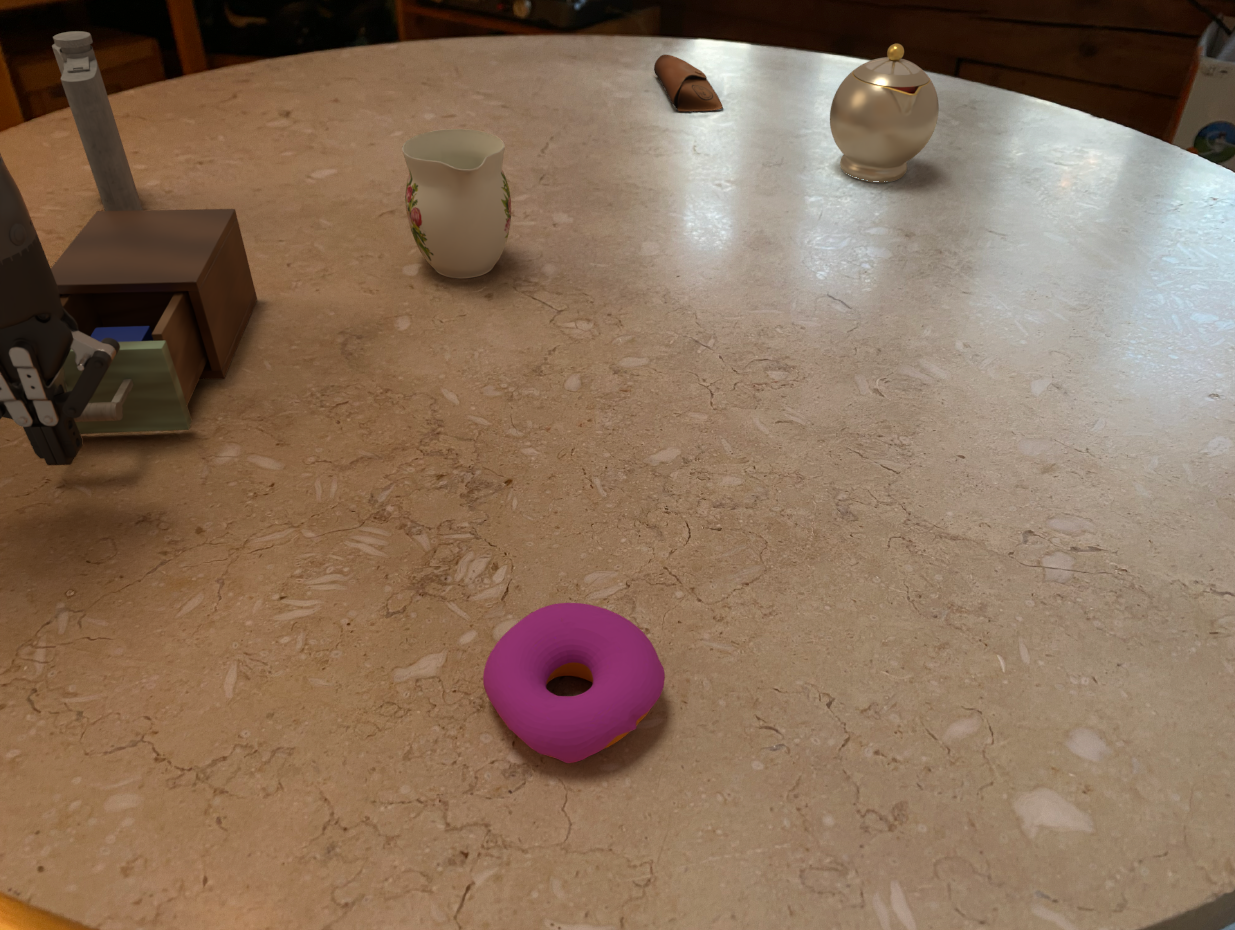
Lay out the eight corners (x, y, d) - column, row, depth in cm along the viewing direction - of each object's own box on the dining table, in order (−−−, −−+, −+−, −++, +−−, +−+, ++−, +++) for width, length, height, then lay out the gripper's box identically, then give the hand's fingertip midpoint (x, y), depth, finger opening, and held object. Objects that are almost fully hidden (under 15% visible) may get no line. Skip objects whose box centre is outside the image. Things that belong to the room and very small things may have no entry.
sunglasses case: (727, 107, 144) (708, 69, 140) (687, 132, 146) (667, 95, 142) (702, 72, 158) (684, 36, 154) (665, 95, 160) (647, 60, 156)
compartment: (173, 466, 74) (143, 382, 69) (18, 472, 73) (-24, 387, 68) (226, 343, 88) (205, 266, 83) (97, 347, 87) (68, 269, 82)
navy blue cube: (95, 400, 78) (77, 355, 76) (112, 371, 82) (95, 327, 79) (150, 397, 79) (134, 353, 76) (164, 369, 82) (149, 325, 79)
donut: (462, 681, 59) (456, 633, 56) (595, 613, 64) (595, 565, 61) (550, 803, 53) (548, 756, 50) (690, 717, 58) (696, 669, 55)
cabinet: (224, 379, 85) (196, 281, 79) (76, 383, 84) (36, 285, 78) (257, 298, 96) (235, 208, 90) (128, 302, 95) (96, 210, 89)
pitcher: (492, 221, 112) (484, 104, 103) (531, 291, 99) (526, 163, 90) (399, 232, 109) (383, 113, 101) (427, 306, 96) (412, 175, 87)
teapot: (941, 192, 122) (974, 60, 112) (841, 196, 120) (865, 62, 110) (891, 142, 136) (916, 21, 126) (800, 145, 134) (818, 22, 124)
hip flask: (101, 192, 116) (42, 18, 103) (136, 186, 118) (83, 14, 105) (115, 244, 105) (52, 56, 93) (154, 237, 107) (97, 52, 94)
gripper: (99, 211, 61) (172, 425, 72) (-116, 214, 60) (-9, 430, 71) (55, 265, 55) (142, 488, 66) (-183, 269, 54) (-56, 495, 65)
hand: (63, 458), depth 69 cm, fingers closed
